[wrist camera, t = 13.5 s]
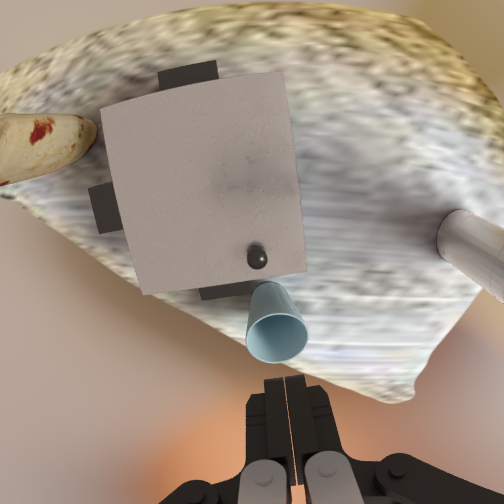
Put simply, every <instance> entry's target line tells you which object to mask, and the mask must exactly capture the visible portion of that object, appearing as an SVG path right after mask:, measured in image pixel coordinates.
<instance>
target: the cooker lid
mask: <svg viewBox="0 0 504 504" xmlns="http://www.w3.org/2000/svg"><path fill="white" fill-rule="evenodd" d="M100 113H101V120H102V126H103V133H104V139H105V145H106V150H107V156H108V161H109V166H110V171H111V176H112V182H108V183H105V184H101V185H97V186H93V187H90V188H88V191H89V195H90V199H91V204H92V208H93V212H94V216H95V220H96V224H97V227H98V231H99V234H102V233H107V232H112V231H117V230H122V229H124V232H125V236H126V240H127V243H128V247H129V251H130V254H131V258H132V261H133V265H134V268H135V271H136V275H137V278H138V281H139V284H140V288H141V291H142V294H143V295H150V294H157V293H165V292H172V291H180V290H187V289H194V288H202V287H209V286H216V285H222V284H229V283H236V282H243V281H249V280H256V279H262V278H269V277H275V276H282V275H288V274H294V273H300V272H306V271H307V264H306V252H305V241H304V231H303V221H302V211H301V202H300V193H299V184H298V176H297V168H296V160H295V152H294V145H293V137H292V130H291V123H290V116H289V109H288V103H287V96H286V90H285V84H284V78H283V72H282V71H280V72H269V73H260V74H251V75H244V76H236V77H230V78H223V79H217V80H211V81H206V82H201V83H195V84H191V85H186V86H181V87H177V88H172V89H168V90H164V91H160V92H156V93H152V94H148V95H144V96H140V97H137V98H133V99H130V100H126V101H123V102H120V103H117V104H113V105H110V106H107V107H104V108H101V109H100Z"/></svg>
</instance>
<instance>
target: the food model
mask: <svg viewBox="0 0 504 504" xmlns="http://www.w3.org/2000/svg"><path fill="white" fill-rule="evenodd" d="M96 138H97V128H96V125H95V124H94V123H93V122H92V121H91V120H89V119H87V118H85V117H82V116H76V115H68V114H13V113H7V114H4V115H0V186H4V185H8V184H12V183H16V182H20V181H24V180H27V179H31V178H35V177H38V176H41V175H45V174H48V173H51V172H54V171H56V170H59V169H61V168H63V167H65V166H67V165H69V164H71V163H73V162H75V161H77V160H78V159H80V158H81V157H82V156H83V155H84V154H86V153H87V152H88V151H89V150H90V149H91V148H92V146H93V144H94V143H95V141H96Z"/></svg>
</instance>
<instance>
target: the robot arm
mask: <svg viewBox="0 0 504 504" xmlns="http://www.w3.org/2000/svg"><path fill="white" fill-rule="evenodd" d="M437 248H438V251H439V254H440V255H441V257H442V258H443V259H445V260H446V261H448V262H449V263H450V264H452V265H453V266H454V267H456V268H457V269H458V270H460V271H461V272H463V273H464V274H465V275H467V276H468V277H469V278H471V279H472V280H473V281H475V282H476V283H477V284H479V285H480V286H481V287H483V288H484V289H485V290H487V291H488V292H489V293H491V294H492V295H493V296H494V297H496V298H497V299H498V300H500V301H501V302H502V303H503V304H504V228H502V227H500V226H498V225H496V224H494V223H492V222H490V221H487V220H485V219H483V218H481V217H479V216H477V215H474V214H472V213H470V212H467V211H465V210H455V211H453V212H451V213H450V214H449V215H448V216H447V217H446V218H445V219H444V220H443V222H442V224H441V226H440V228H439V231H438V235H437ZM285 384H286V393H287V403H288V410H289V418H290V425H291V434H292V442H293V449H294V457H295V465H296V472H297V481H298V485H302V484H304V488H305V496H306V504H504V495H503V494H500V493H497V492H494V491H492V490H489V489H486V488H484V487H481V486H478V485H476V484H473V483H471V482H468V481H466V480H464V479H461V478H458V477H456V476H454V475H452V474H449V473H447V472H445V471H443V470H440V469H438V468H436V467H434V466H432V465H429V464H427V463H425V462H423V461H421V460H419V459H416V458H415V457H412V456H411V455H408V454H404V453H395V454H391V455H389V456H387V457H385V458H384V459H383V460H381V461H359V460H355V459H353V458H351V457H349V456H348V455H347V454H346V453H345V452H344V450H343V449H342V446H341V442H340V438H339V435H338V431H337V427H336V423H335V420H334V416H333V412H332V408H331V405H330V401H329V397H328V394H327V393H326V392H325V391H324V389H323V388H322V387H321V386H320V385H317V386H311V387H307V386H306V382H305V377H304V374H301V375H295V376H287V377H285ZM264 390H265V393H260V394H252V395H251V396H250V398H249V400H248V402H247V404H246V462H245V466H244V468H243V469H242V471H241V472H240V473H239V474H238V475H236V476H235V477H233V478H231V479H229V480H226V481H223V482H219V483H216V484H213V485H211V484H210V483H208V482H206V481H202V480H191V481H188V482H185V483H183V484H182V485H181V486H179V487H178V488H177V489H176V490H174V491H173V492H172V493H171V494H170V495H168V496H167V497H166V498H165V499H164V500H162V501H161V502H160V503H159V504H291V503H292V496H291V486H295V485H296V479H295V469H294V458H293V450H292V443H291V434H290V426H289V419H288V411H287V404H286V396H285V388H284V381H283V377H281V378H273V379H265V380H264Z"/></svg>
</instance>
